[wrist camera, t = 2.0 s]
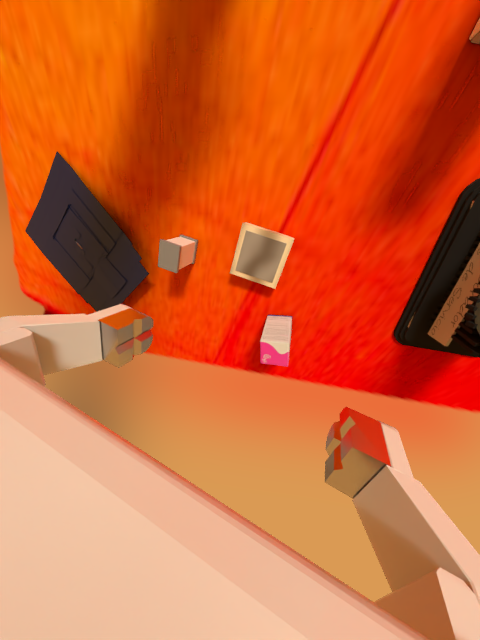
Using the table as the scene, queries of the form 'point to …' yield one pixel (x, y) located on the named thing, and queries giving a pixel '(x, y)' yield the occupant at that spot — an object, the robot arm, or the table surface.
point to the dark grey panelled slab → (84, 240)
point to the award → (449, 286)
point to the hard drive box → (476, 34)
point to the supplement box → (276, 340)
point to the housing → (177, 253)
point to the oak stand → (260, 254)
